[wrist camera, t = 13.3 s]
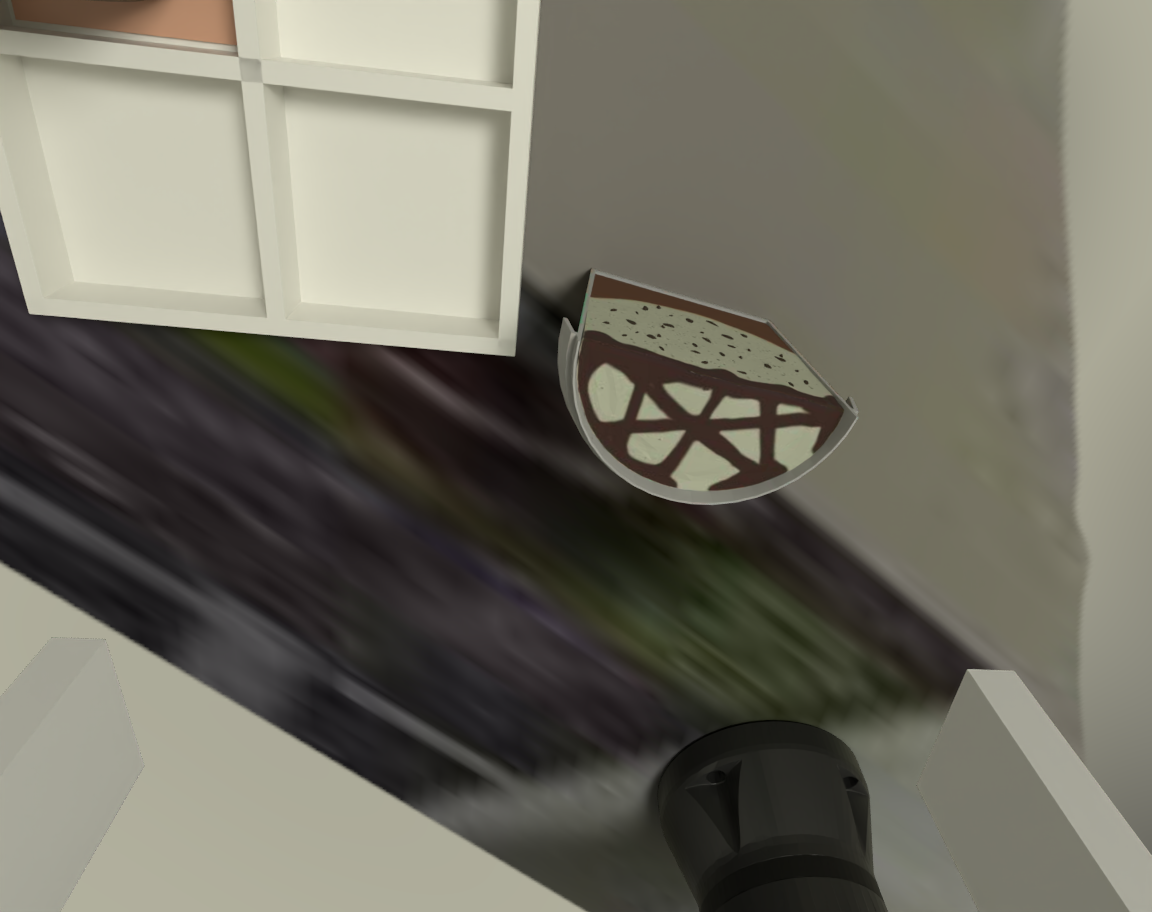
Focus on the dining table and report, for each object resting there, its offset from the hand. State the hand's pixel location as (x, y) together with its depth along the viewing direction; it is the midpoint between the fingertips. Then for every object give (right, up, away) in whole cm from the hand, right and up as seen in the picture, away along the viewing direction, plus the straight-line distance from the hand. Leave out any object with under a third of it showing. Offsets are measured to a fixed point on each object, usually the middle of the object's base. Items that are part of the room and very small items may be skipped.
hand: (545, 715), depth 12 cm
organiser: (-12, +20, +19) cm, 30 cm away
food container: (+5, +10, +26) cm, 28 cm away
